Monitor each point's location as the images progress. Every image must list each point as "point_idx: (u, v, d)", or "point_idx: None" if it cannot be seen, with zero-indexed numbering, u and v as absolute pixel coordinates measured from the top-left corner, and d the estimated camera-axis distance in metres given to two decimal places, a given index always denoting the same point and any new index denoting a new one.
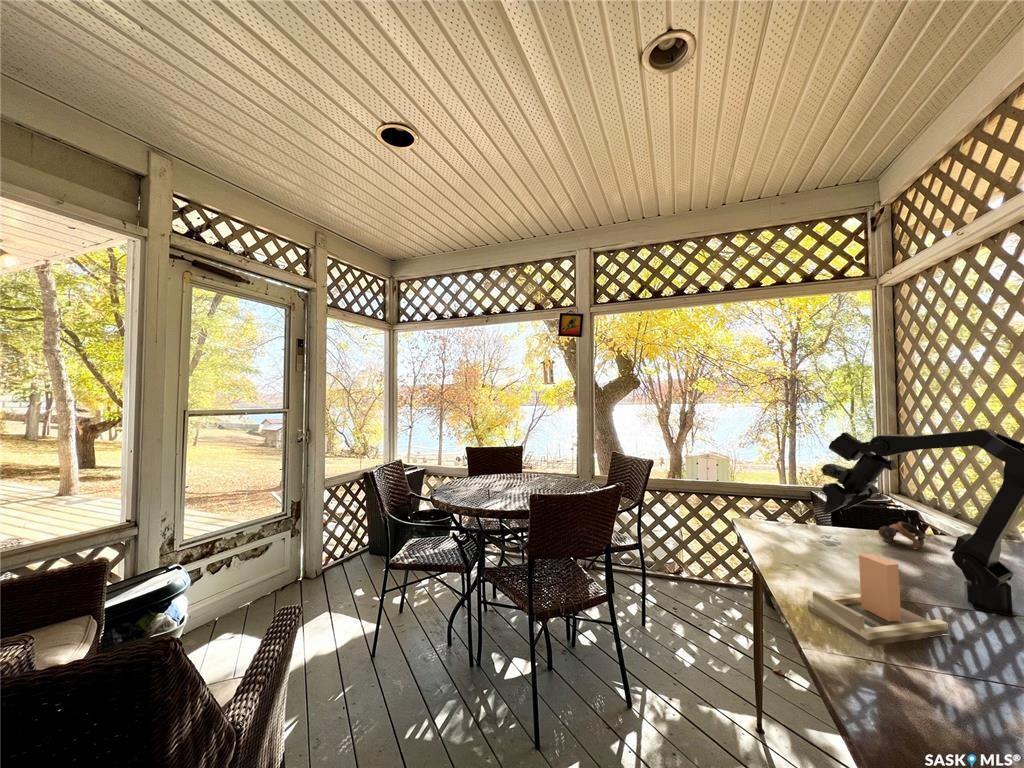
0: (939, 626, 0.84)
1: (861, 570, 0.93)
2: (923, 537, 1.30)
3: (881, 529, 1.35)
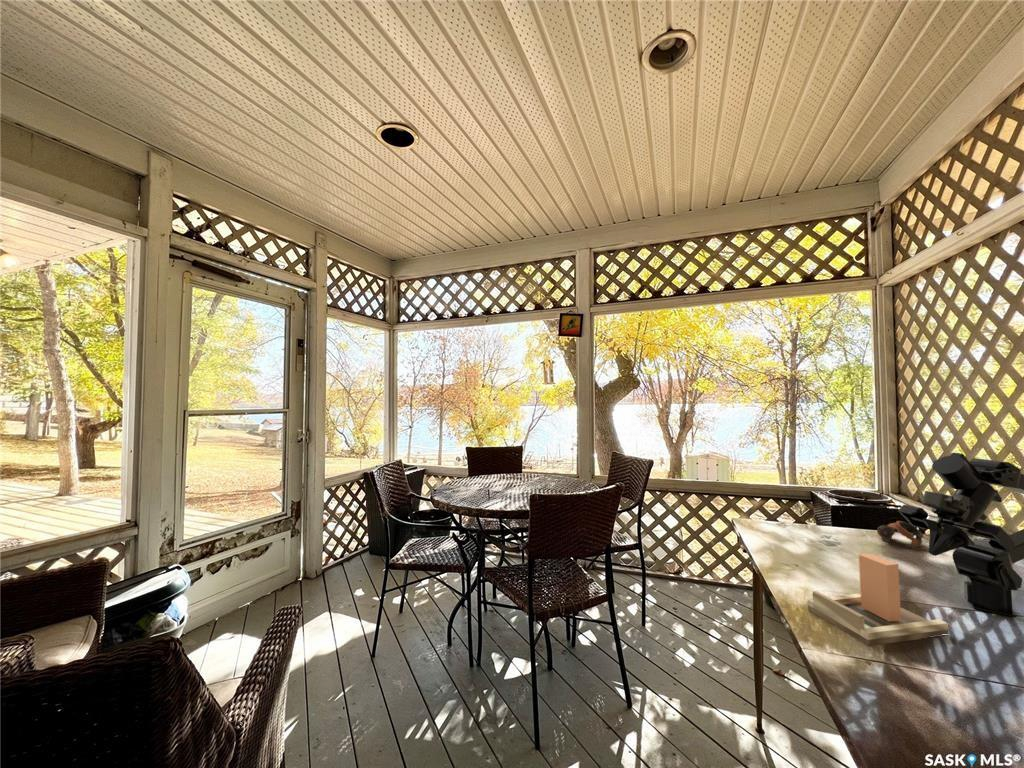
0: (939, 626, 0.84)
1: (861, 570, 0.93)
2: (921, 536, 1.31)
3: (880, 528, 1.35)
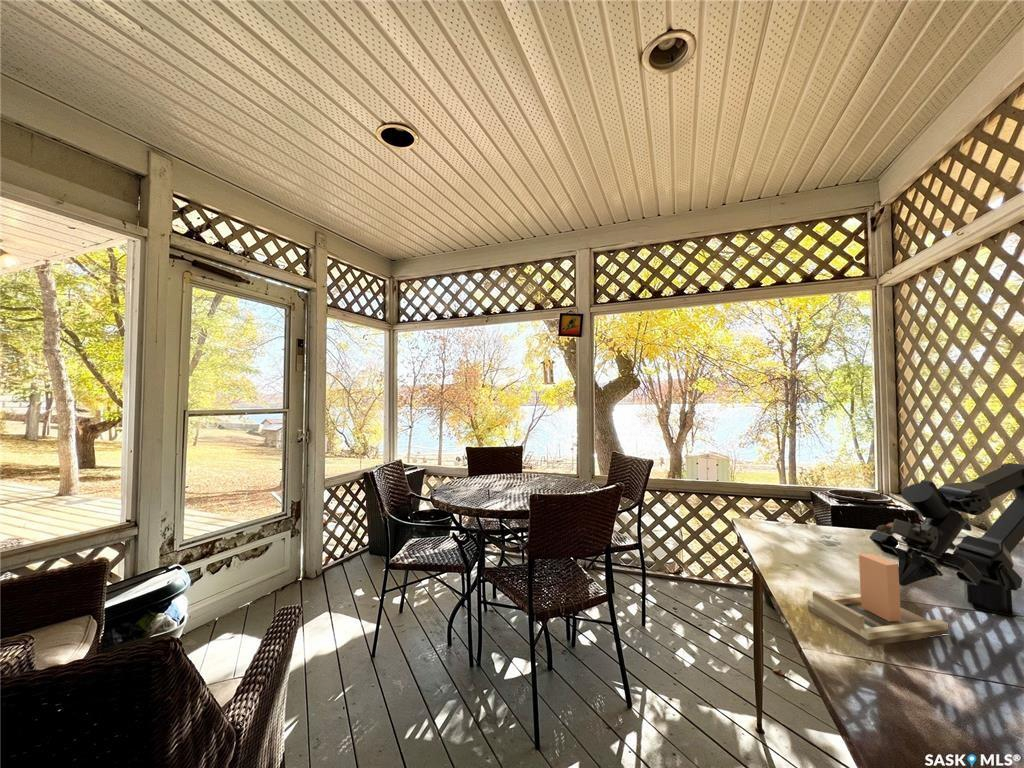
0: (939, 626, 0.84)
1: (861, 570, 0.93)
2: None
3: (879, 528, 1.36)
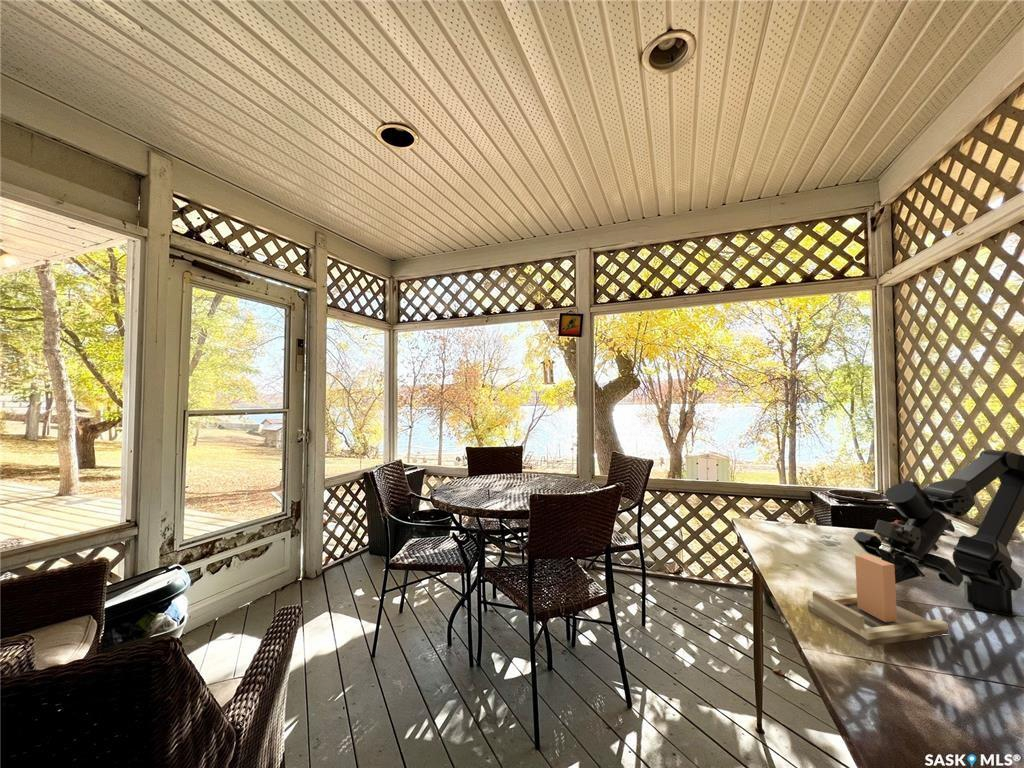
0: (939, 626, 0.84)
1: (857, 570, 0.93)
2: None
3: None
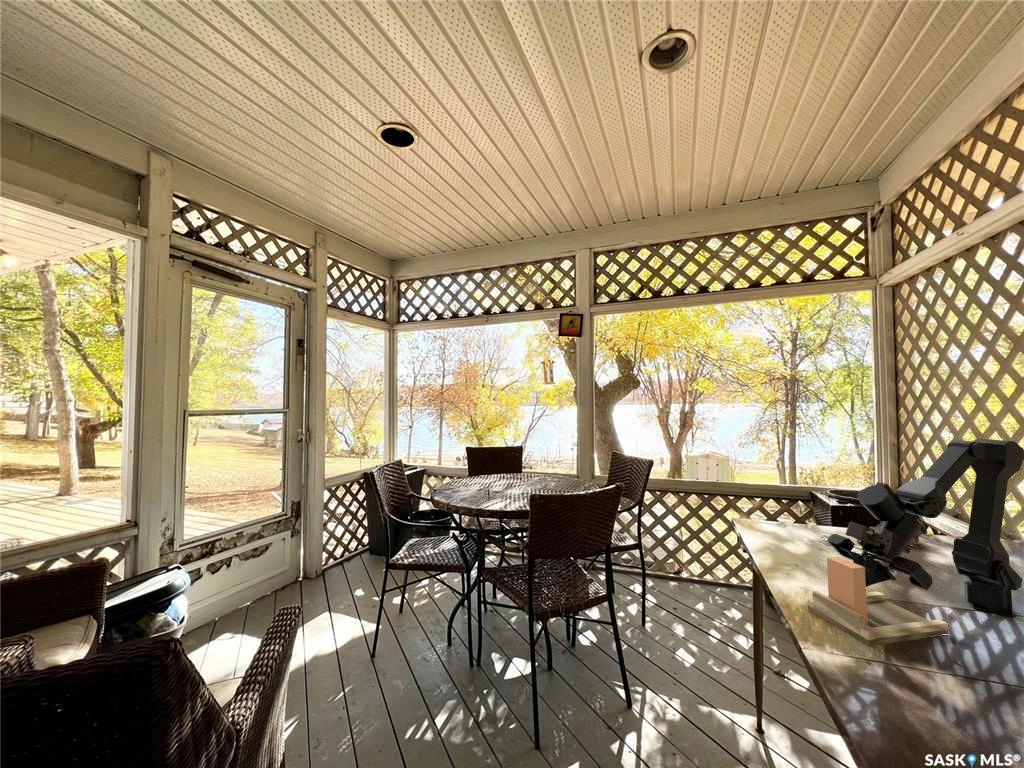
0: (939, 626, 0.84)
1: (829, 573, 0.91)
2: (918, 534, 1.32)
3: None
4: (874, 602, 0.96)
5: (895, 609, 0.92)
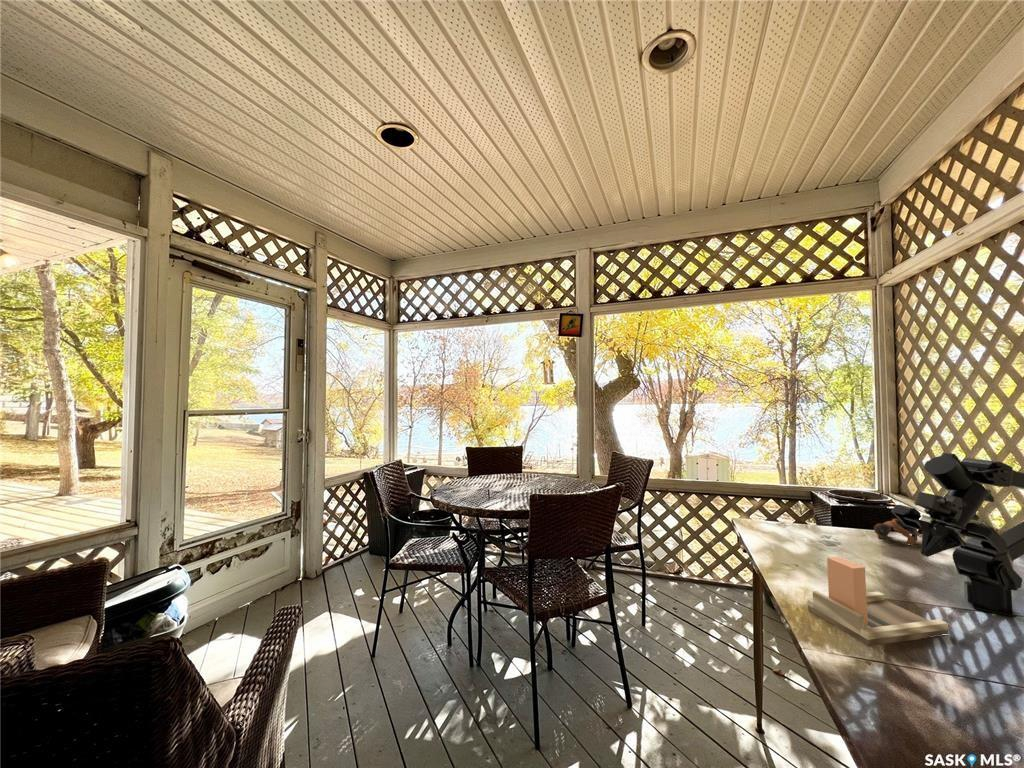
0: (939, 626, 0.84)
1: (829, 573, 0.91)
2: (917, 533, 1.33)
3: (876, 526, 1.38)
4: (874, 602, 0.96)
5: (895, 609, 0.92)
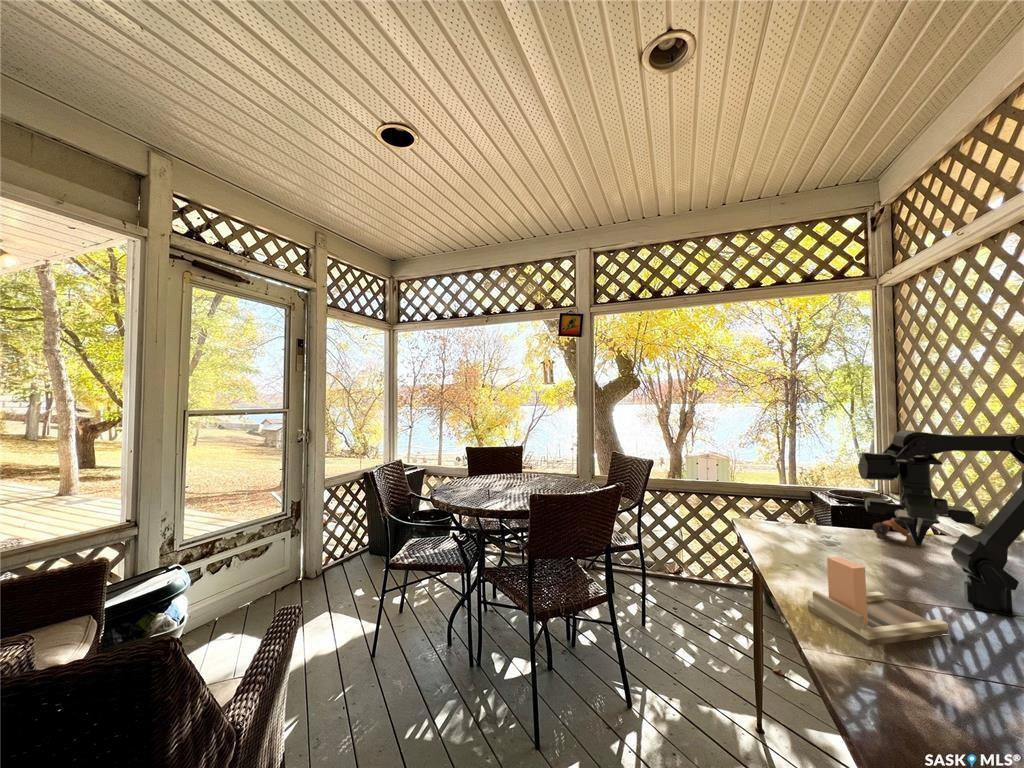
0: (939, 626, 0.84)
1: (829, 573, 0.91)
2: None
3: (875, 525, 1.38)
4: (874, 602, 0.96)
5: (895, 609, 0.92)
